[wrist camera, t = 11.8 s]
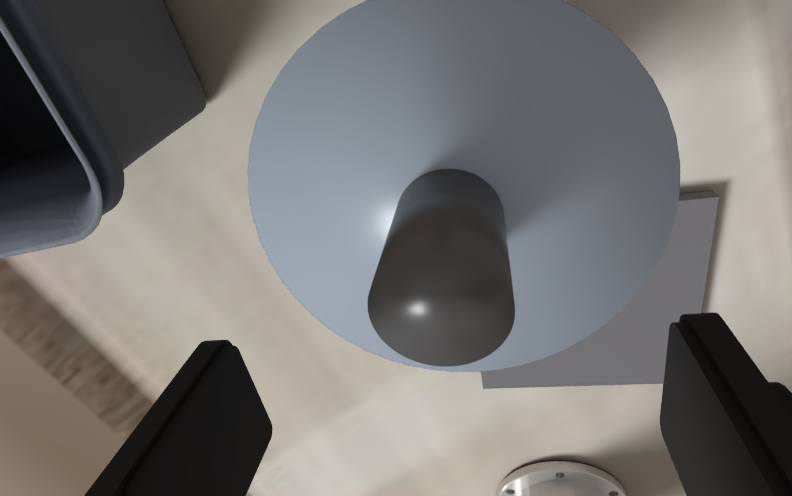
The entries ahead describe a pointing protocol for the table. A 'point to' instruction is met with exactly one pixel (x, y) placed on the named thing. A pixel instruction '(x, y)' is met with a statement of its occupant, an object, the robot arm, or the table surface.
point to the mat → (634, 315)
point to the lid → (463, 179)
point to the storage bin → (82, 110)
